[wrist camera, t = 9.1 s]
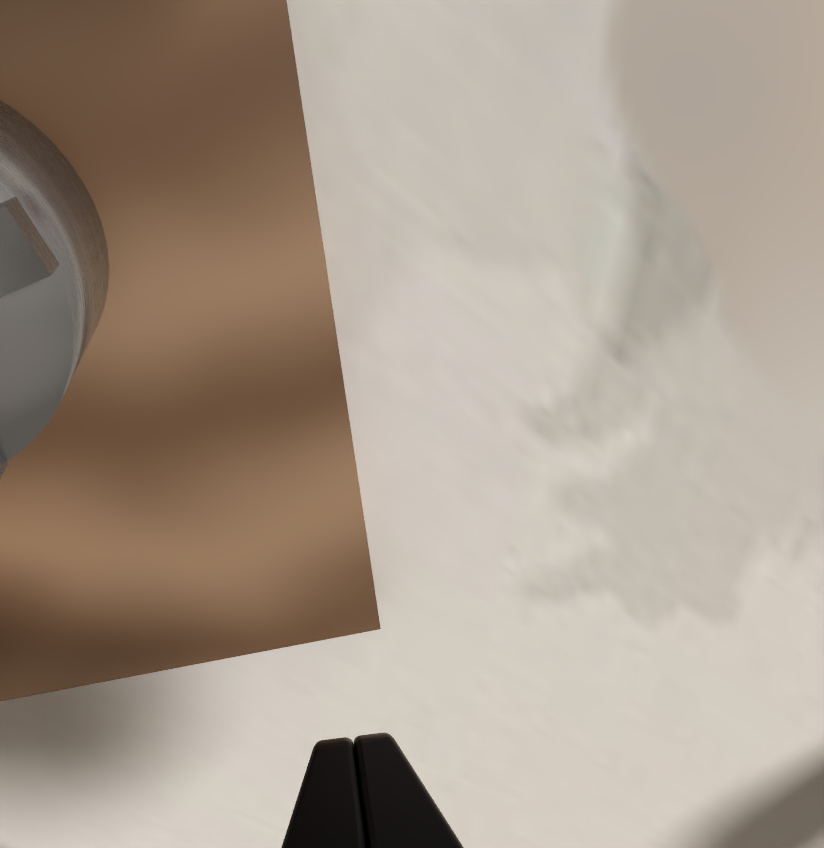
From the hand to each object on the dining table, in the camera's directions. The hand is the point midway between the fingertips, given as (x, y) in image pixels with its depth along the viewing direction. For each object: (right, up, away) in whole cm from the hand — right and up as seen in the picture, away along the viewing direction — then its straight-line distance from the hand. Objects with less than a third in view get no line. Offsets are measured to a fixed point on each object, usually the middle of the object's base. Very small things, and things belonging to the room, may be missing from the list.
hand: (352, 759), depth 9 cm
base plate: (-8, +5, +10) cm, 14 cm away
